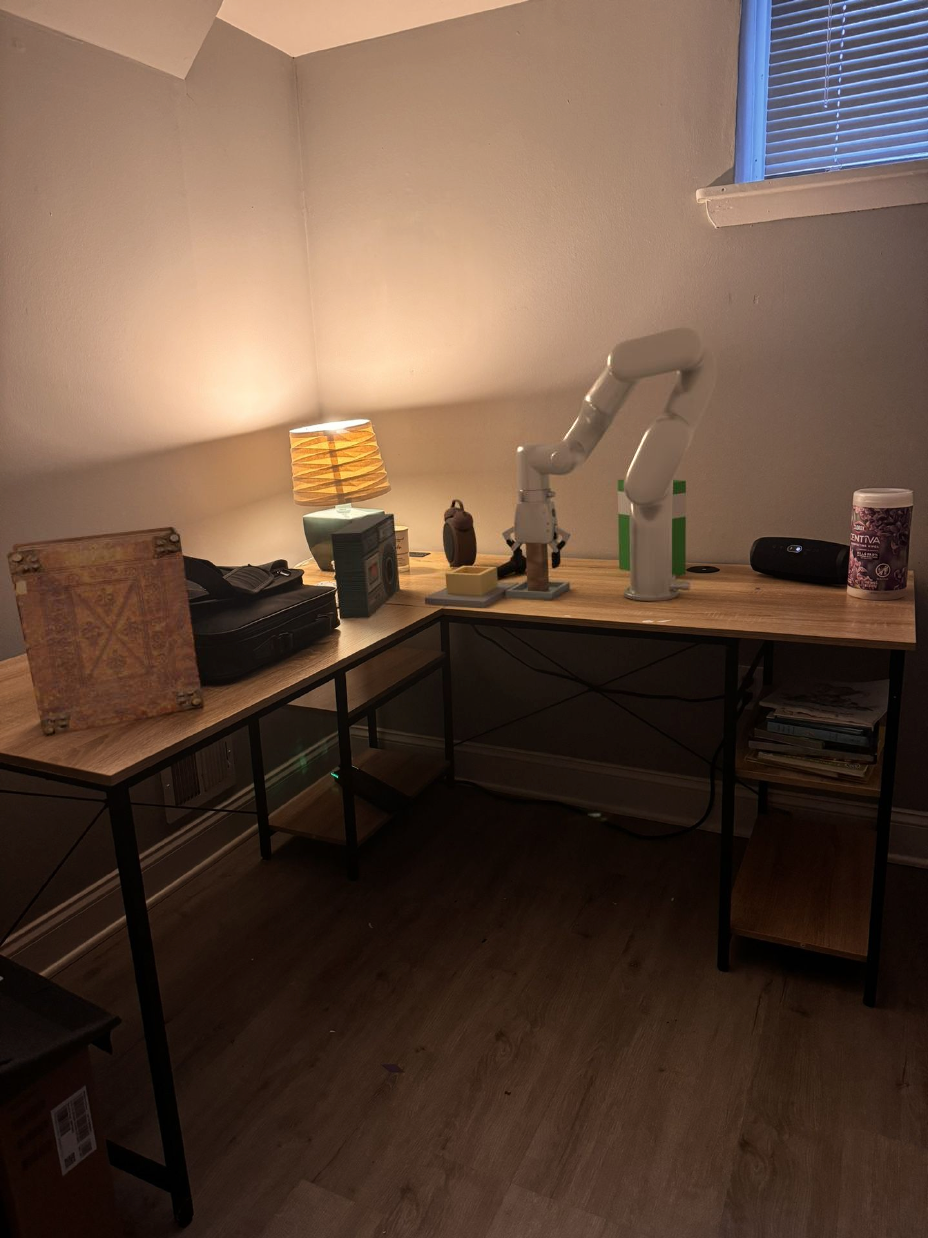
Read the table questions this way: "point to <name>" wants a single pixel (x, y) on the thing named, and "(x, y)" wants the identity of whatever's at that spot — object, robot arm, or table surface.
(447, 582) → the yellow socket holder
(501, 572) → the microphone
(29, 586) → the book
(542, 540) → the robot arm
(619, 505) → the green white tall box
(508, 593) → the tray
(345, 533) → the cassette player
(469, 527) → the alarm clock
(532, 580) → the rod
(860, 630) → the table surface
